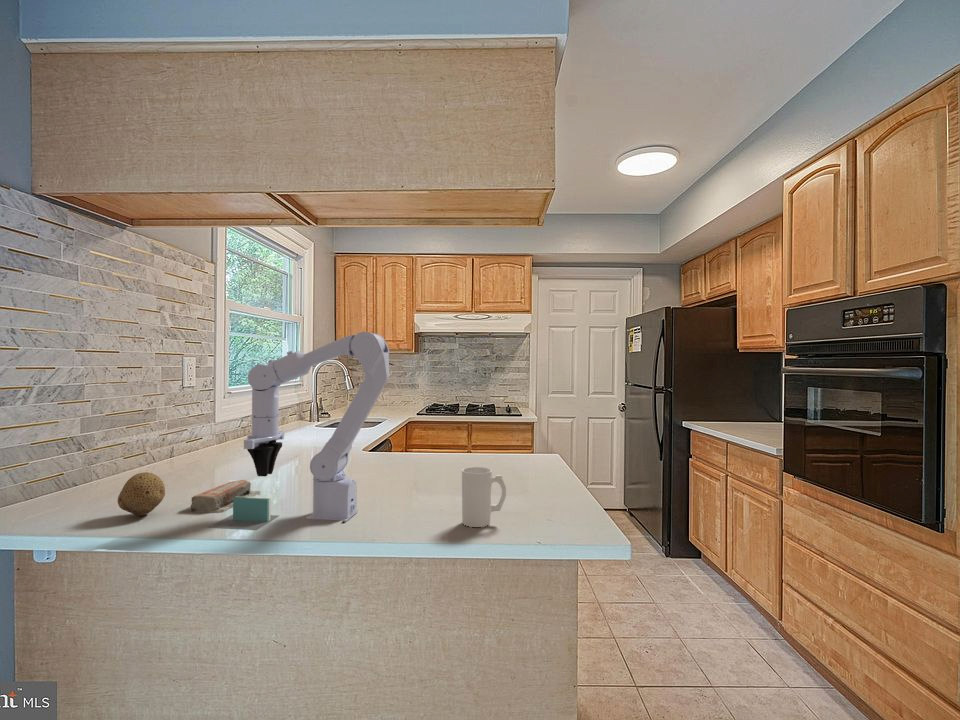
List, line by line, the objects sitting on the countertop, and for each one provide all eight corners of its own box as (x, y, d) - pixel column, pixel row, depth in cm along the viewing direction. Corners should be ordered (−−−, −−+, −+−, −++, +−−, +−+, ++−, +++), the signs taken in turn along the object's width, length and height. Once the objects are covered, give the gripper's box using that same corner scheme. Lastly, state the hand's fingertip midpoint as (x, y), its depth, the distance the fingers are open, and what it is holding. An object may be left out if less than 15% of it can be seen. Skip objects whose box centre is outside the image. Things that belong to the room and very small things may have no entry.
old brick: (222, 496, 122) (181, 495, 123) (222, 517, 122) (181, 516, 123) (261, 478, 140) (225, 477, 141) (261, 496, 140) (225, 495, 141)
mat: (279, 518, 120) (279, 515, 120) (256, 532, 110) (256, 529, 110) (234, 516, 122) (234, 513, 122) (207, 530, 112) (207, 527, 112)
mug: (461, 528, 114) (461, 473, 114) (461, 519, 121) (461, 466, 121) (507, 528, 115) (507, 473, 115) (504, 518, 122) (505, 467, 122)
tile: (270, 519, 117) (270, 497, 117) (267, 521, 116) (267, 499, 116) (236, 518, 118) (236, 496, 118) (232, 520, 117) (233, 497, 117)
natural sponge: (171, 515, 121) (172, 472, 121) (127, 524, 115) (127, 479, 114) (157, 508, 127) (157, 466, 127) (113, 516, 120) (114, 472, 120)
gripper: (265, 412, 130) (264, 467, 130) (230, 419, 115) (230, 481, 115) (292, 413, 129) (292, 468, 129) (261, 420, 115) (260, 482, 115)
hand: (264, 474), depth 122 cm, fingers closed
